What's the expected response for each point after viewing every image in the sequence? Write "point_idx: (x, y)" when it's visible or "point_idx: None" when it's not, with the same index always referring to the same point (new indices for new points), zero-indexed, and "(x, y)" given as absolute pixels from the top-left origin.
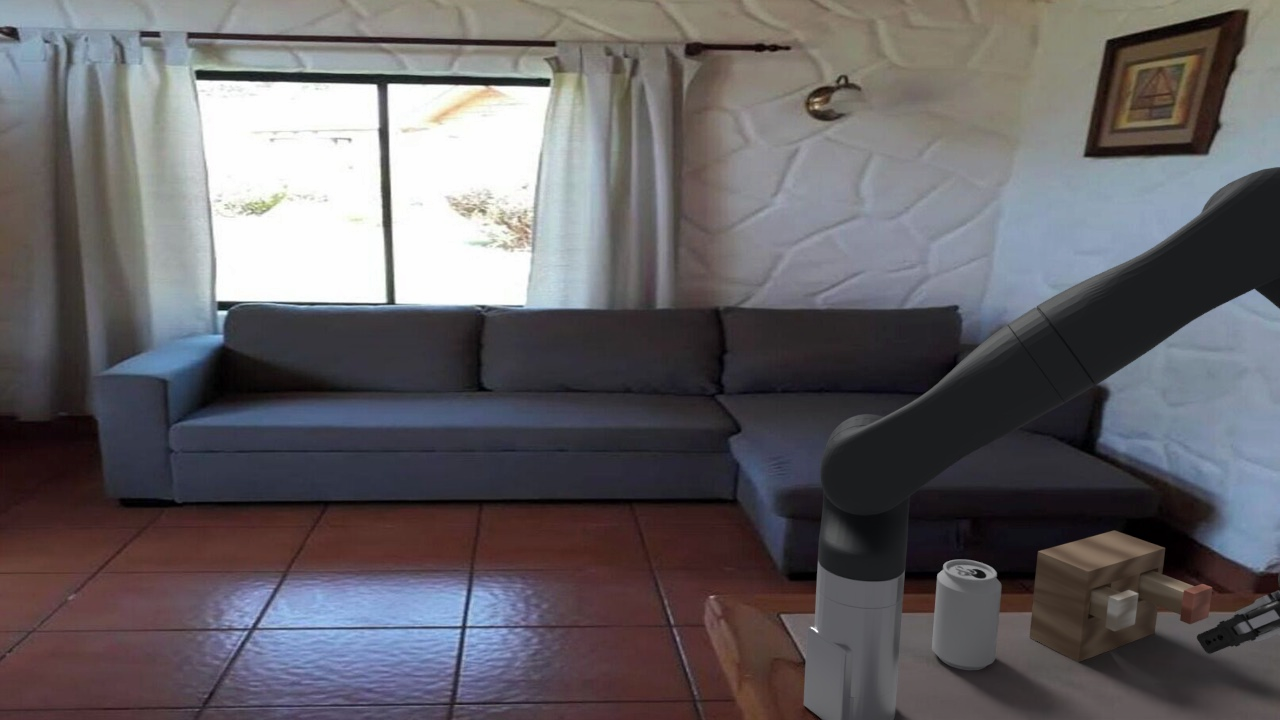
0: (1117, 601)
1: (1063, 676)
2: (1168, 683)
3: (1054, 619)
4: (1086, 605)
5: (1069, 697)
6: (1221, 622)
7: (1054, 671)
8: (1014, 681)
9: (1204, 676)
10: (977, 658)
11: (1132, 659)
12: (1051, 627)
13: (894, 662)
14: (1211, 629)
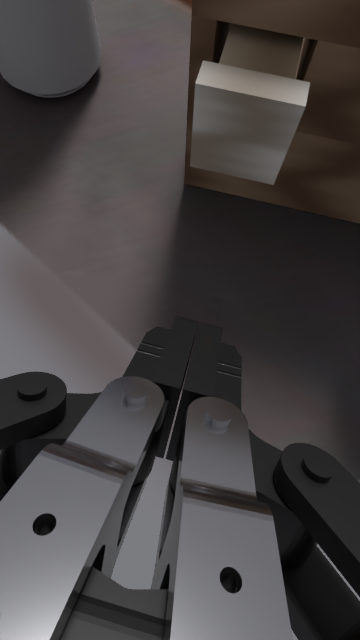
0: (195, 85)
1: (112, 183)
2: (236, 315)
3: None
4: (198, 69)
5: (43, 212)
6: (16, 389)
7: (119, 168)
8: (34, 140)
9: (328, 358)
10: (3, 68)
11: (278, 242)
12: None
13: None
14: (164, 347)
